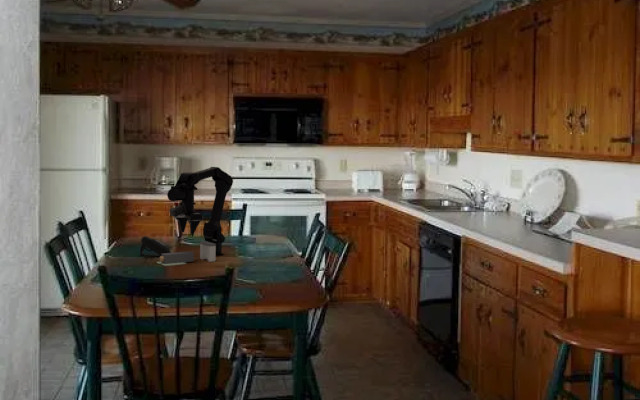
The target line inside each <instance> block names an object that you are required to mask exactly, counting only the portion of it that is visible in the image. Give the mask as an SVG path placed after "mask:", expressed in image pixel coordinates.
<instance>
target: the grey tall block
mask: <svg viewBox="0 0 640 400" xmlns="http://www.w3.org/2000/svg"><path fill="white" fill-rule="evenodd" d="M194 255H195V253H194V252H193V251H190V250H189V251H178V252H177V251H175V252H171V253H164V254H161V256H160V255H159V262H161V263H164V264H171V263H181V262H184V263H189V262H190V263H191V262H194V259H195V257H194Z"/></svg>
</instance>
